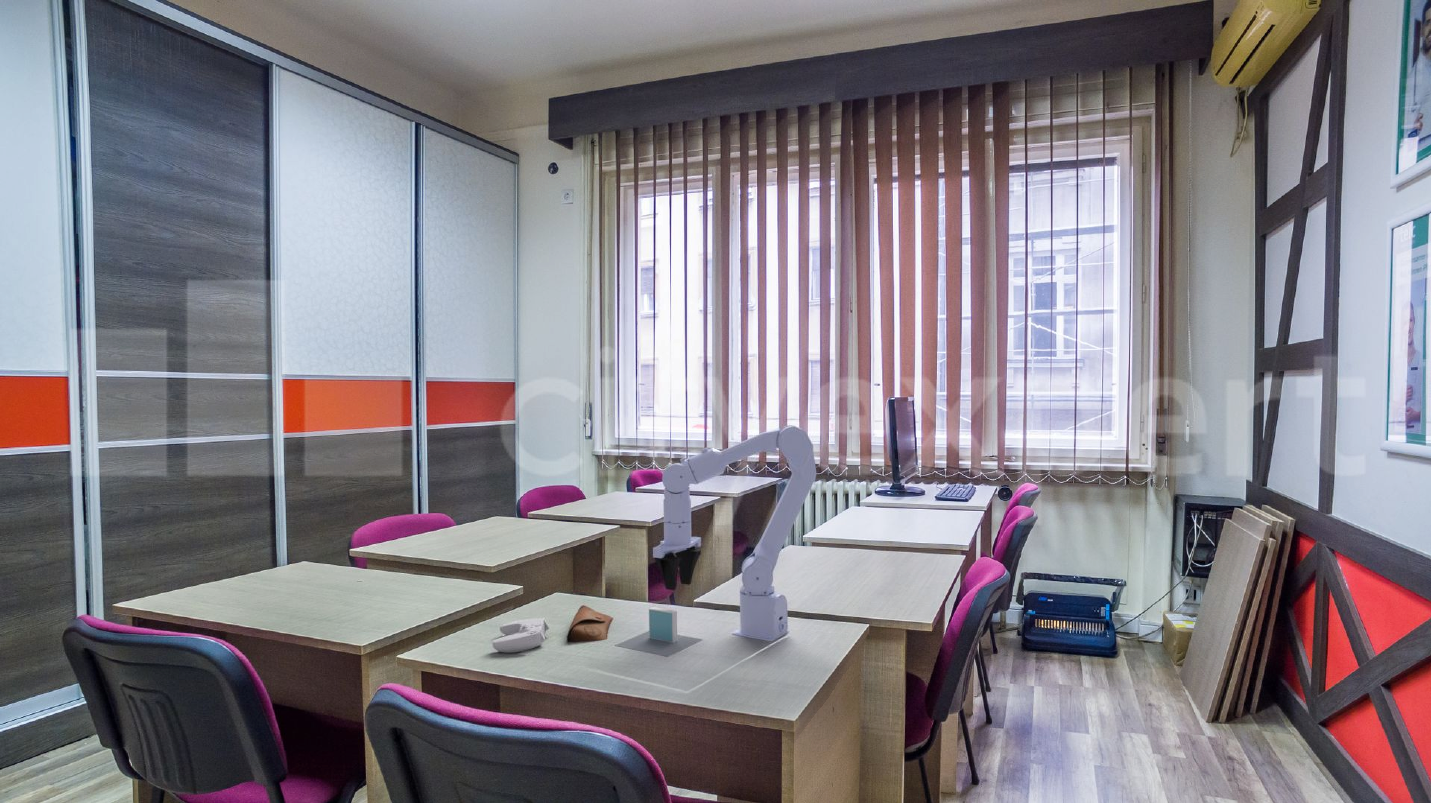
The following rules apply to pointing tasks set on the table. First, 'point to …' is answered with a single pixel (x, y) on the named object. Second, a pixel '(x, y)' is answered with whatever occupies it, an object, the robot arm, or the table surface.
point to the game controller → (521, 635)
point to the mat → (658, 644)
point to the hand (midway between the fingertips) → (678, 586)
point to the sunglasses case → (589, 626)
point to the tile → (663, 624)
